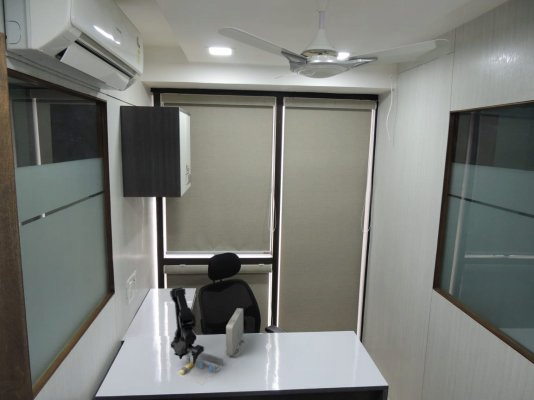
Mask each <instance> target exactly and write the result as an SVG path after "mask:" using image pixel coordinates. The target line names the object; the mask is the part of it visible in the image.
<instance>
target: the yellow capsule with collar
mask: <svg viewBox="0 0 534 400" xmlns="http://www.w3.org/2000/svg"><path fill="white" fill-rule="evenodd" d="M194 365H195V364H193V361H192V362H190V363H189V364H188V365H187V366H186V367H183V366H182V367H181V368H180V369H181V371H180V373H181V374H184V375H185V374H186V373H187V372H188V370H189V369H190V368H191V367H193V366H194Z"/></svg>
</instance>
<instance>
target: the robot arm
mask: <svg viewBox="0 0 534 400" xmlns="http://www.w3.org/2000/svg"><path fill="white" fill-rule="evenodd" d="M186 295H187V294H186V288H183V287H182V286H180V287H172V288H171V290H170V291H169V296H170V299H171V301H172V302H173V303H174V309H175V310H174V312H175V322H176V330H175V332H174V337H173V339H172V341H171V342H170V348H171V349H173V351H174V353H173V355H175V356H178V357H179V359H180V360H182V359H183V357H184V356H187V355H188V353H189V352H190V350H191V354H190V356H192V359H193V364H195V362H196V360H197V357H198V355H199V354H201V353H202V352H204V350H205V347H204V346H203V345H200V344H196V345H195V341H196V340H197V335H196V333H195V330H194V329H193V328H194V327H196V323H197V321H196V315H195V314H194V312H193V310H192V308H190V307H189V306H188V303H187V297H186Z"/></svg>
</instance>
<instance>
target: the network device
mask: <svg viewBox="0 0 534 400" xmlns="http://www.w3.org/2000/svg"><path fill="white" fill-rule="evenodd" d="M243 336H244V308H240V307H239V308H238V307H237V308H236V309H235V311H234V313H233V314H232V316H231V317H230V319H229V320H228V323H227V324H226V326H225V339H226V340H225V342H226V344H225V346H226V347H225V351H224V355H225V356H228V357H237V356H239V355H240V353H241V351H242V349H243V347H242V346H244V345H243V344H245V341H246V340H245V339H244V338H243ZM241 339H243V341H244V340H245V341H244V342H243V341H242V343H241V344H240V342H241V341H240V340H241ZM237 348H238V349H237ZM237 350H238V352H237V353H235V352H236V351H237Z"/></svg>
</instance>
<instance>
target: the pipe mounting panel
mask: <svg viewBox="0 0 534 400" xmlns="http://www.w3.org/2000/svg"><path fill="white" fill-rule="evenodd" d="M191 356H192V355H191V354H186V355H185V357H186V364H185V365H184V366H183V365H182V367H186V366H187V365H188V364H189V363H190V362H192V361H193V358H192V359H191ZM223 366H224V358H222V357H218V356H215V355H213V354H209V353H207V352H204V351H203V352H202V353H201V354H199V355H198V357H197V360H196V362H195V365H194V366H193V367H191V368H190V369H189V370H188V372H187V373H186V374H185V375H184V374H181V373H180V371H181V368H179V369H178V370H177V371H176V372H175V373H174V375H175V376H178V377H181V378H184V379H186V380H188V381H191V382H194V383H196V384H199V385H202V386H203V385H204V384H205V383H207V381H208V380H209V379H210V378H212V377H213V375H214V374H216V373H217V372H218V371H219V370H220V369H221V368H222V367H223Z"/></svg>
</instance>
